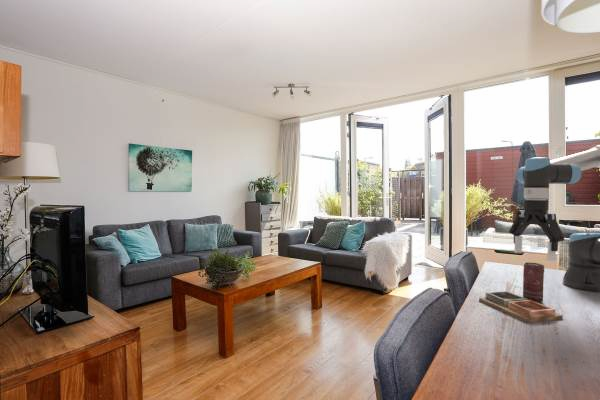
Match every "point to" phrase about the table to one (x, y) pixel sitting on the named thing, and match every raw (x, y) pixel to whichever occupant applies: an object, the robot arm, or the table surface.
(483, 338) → the table surface
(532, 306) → the board
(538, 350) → the table surface
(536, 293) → the can
